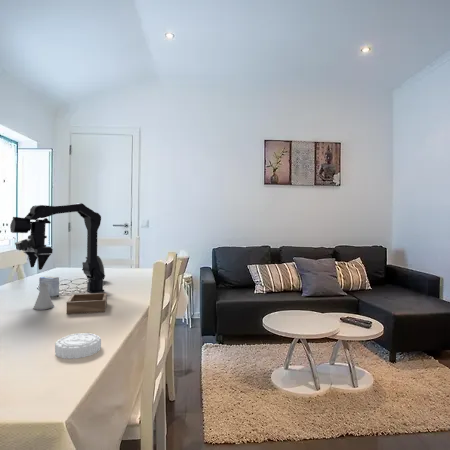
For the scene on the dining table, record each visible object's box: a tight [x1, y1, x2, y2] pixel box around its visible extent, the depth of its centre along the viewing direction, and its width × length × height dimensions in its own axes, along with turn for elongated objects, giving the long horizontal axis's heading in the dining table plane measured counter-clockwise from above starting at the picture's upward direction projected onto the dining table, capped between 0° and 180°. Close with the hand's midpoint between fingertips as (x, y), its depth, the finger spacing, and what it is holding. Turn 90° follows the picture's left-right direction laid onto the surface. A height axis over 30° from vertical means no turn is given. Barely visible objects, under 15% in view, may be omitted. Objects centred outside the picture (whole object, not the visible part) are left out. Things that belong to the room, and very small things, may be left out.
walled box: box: [65, 292, 108, 315], centre depth 141 cm, size 14×14×5 cm
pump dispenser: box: [85, 255, 106, 280], centre depth 199 cm, size 10×10×15 cm
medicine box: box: [38, 275, 60, 298], centre depth 163 cm, size 8×4×9 cm, turn 71°
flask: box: [32, 283, 55, 311], centre depth 141 cm, size 7×7×10 cm
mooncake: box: [54, 332, 102, 360], centre depth 97 cm, size 12×12×4 cm
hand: (36, 268), depth 152 cm, fingers open, 9 cm apart
